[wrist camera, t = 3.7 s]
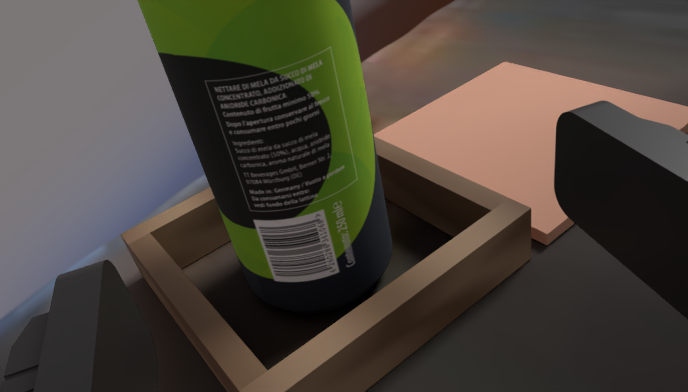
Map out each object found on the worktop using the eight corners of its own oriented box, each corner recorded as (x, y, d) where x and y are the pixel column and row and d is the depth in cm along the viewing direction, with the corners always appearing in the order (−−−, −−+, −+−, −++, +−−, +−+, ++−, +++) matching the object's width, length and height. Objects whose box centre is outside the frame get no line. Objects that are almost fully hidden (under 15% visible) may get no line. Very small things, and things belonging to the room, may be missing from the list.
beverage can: (423, 247, 24) (368, -168, 15) (330, 349, 20) (191, -115, 12) (316, 208, 28) (223, -143, 19) (221, 289, 24) (55, -97, 16)
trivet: (504, 70, 36) (504, 61, 36) (701, 121, 28) (704, 110, 27) (361, 152, 31) (359, 142, 31) (546, 245, 23) (547, 234, 22)
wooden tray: (346, 160, 31) (338, 119, 29) (530, 258, 22) (531, 207, 21) (142, 276, 26) (120, 234, 24) (278, 461, 17) (255, 413, 16)
